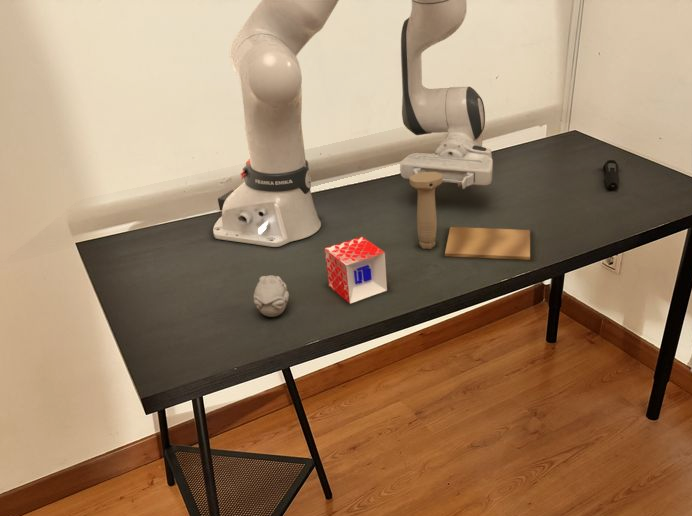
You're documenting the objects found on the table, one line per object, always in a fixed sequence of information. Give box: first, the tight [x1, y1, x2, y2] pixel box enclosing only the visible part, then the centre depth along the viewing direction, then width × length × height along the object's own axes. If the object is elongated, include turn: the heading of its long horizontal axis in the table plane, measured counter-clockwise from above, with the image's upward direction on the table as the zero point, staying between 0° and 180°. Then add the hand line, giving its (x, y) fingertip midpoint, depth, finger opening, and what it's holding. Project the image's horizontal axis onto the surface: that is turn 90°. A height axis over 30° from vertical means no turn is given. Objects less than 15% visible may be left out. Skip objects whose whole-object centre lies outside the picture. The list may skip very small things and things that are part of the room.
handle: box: [408, 172, 443, 250], centre depth 144 cm, size 5×6×15 cm
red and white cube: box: [324, 236, 388, 305], centre depth 132 cm, size 8×8×8 cm
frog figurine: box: [253, 274, 290, 318], centre depth 125 cm, size 6×7×7 cm
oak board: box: [444, 226, 531, 261], centre depth 148 cm, size 17×12×1 cm
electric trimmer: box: [602, 159, 620, 190], centre depth 176 cm, size 4×16×3 cm, turn 171°
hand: (439, 183), depth 151 cm, fingers open, 8 cm apart
